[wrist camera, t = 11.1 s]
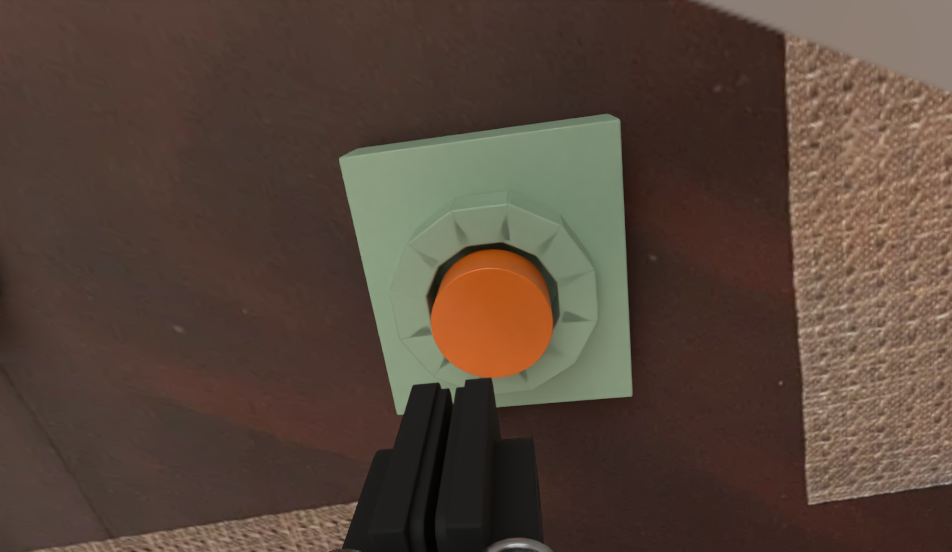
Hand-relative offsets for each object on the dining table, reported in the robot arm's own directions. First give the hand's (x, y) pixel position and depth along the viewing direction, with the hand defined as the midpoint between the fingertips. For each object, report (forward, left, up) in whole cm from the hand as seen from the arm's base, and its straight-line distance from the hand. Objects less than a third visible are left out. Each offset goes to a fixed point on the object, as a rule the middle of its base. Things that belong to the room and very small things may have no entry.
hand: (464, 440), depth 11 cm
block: (0, 0, -10) cm, 10 cm away
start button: (0, 0, -6) cm, 7 cm away
